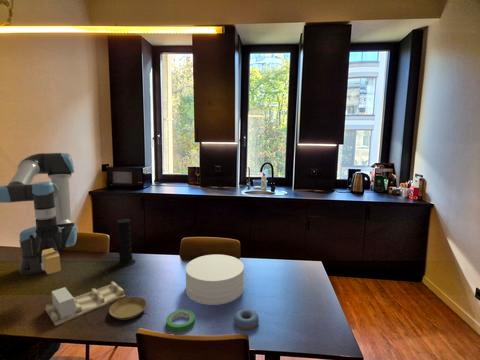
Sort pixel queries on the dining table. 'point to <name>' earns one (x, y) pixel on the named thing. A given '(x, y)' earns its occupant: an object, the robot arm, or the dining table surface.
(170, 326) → the tape roll
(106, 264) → the dining table surface
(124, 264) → the handle grip
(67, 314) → the grey bar
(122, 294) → the rack
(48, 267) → the tan rectangular block
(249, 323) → the doughnut
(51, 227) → the robot arm
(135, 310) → the plant saucer
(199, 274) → the plate stack
